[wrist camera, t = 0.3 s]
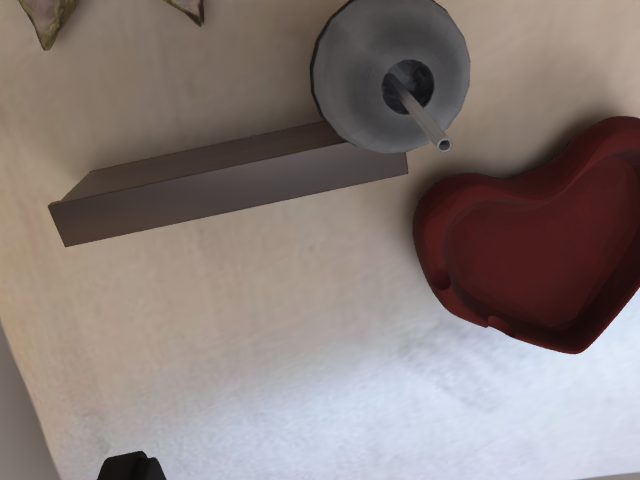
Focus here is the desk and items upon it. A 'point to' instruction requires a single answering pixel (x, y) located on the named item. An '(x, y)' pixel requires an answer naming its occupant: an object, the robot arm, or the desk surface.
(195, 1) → the ceramic sculpture
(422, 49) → the beverage cup
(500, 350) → the desk surface
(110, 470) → the robot arm
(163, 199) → the backboard
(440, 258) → the ashtray
